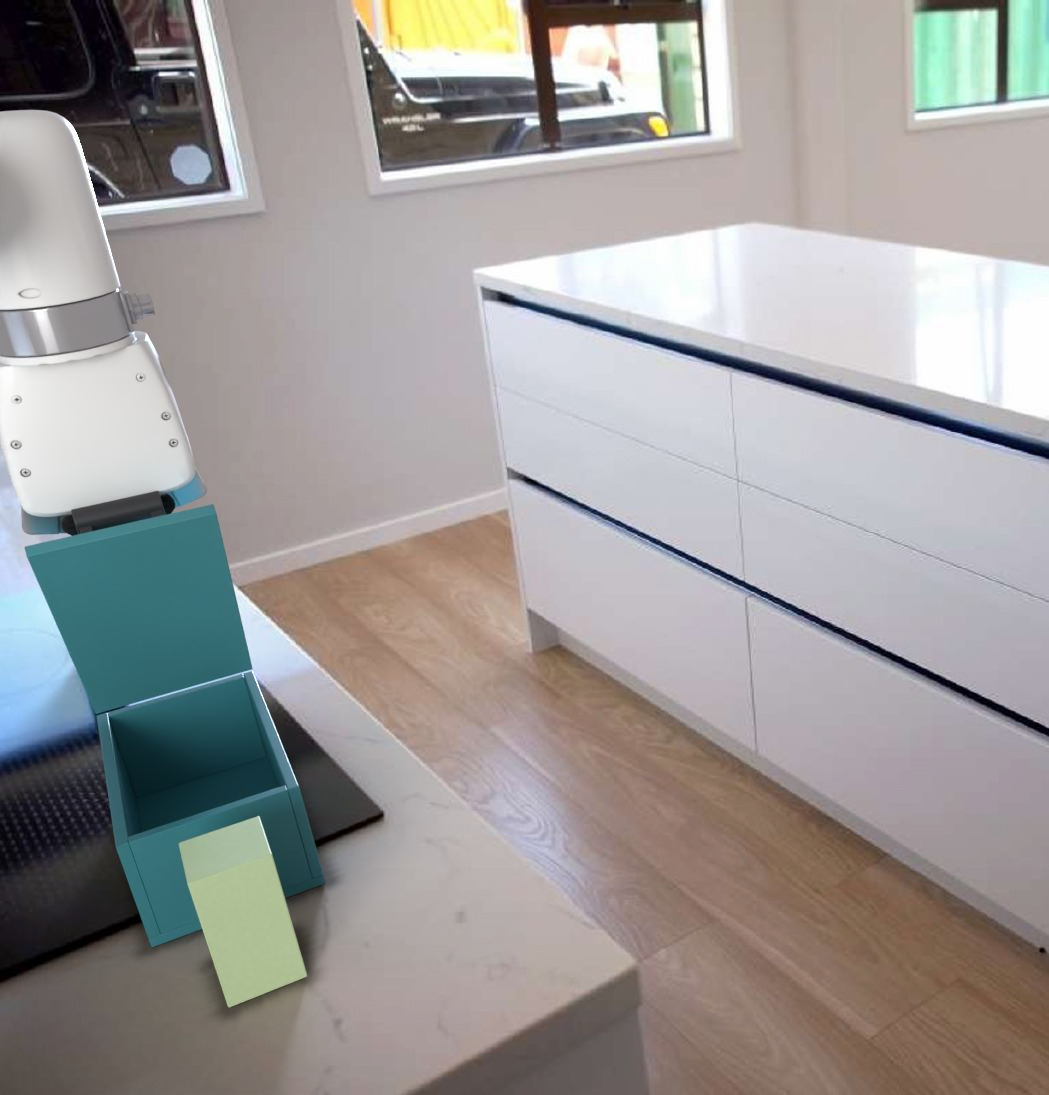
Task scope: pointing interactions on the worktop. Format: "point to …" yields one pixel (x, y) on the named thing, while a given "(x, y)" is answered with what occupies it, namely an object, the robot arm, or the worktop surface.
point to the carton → (242, 910)
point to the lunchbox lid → (142, 599)
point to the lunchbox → (199, 793)
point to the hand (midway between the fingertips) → (144, 594)
